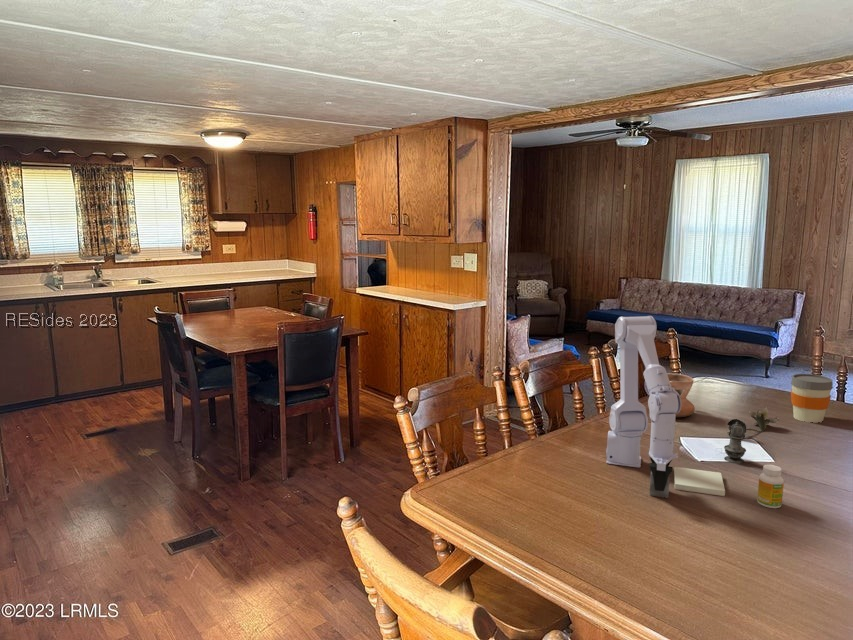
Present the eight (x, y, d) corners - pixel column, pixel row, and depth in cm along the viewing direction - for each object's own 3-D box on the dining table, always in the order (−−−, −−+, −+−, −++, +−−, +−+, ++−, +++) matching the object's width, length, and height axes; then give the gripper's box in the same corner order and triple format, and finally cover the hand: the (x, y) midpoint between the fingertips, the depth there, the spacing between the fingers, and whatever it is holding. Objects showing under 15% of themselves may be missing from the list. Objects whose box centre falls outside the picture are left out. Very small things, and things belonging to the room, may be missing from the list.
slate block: (649, 495, 157) (650, 473, 156) (649, 488, 161) (651, 467, 160) (668, 498, 155) (669, 476, 154) (668, 490, 159) (669, 469, 158)
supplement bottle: (772, 510, 148) (776, 473, 146) (752, 501, 153) (755, 465, 151) (786, 505, 150) (789, 469, 149) (765, 497, 155) (768, 461, 153)
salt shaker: (747, 464, 176) (751, 425, 174) (726, 463, 177) (729, 424, 175) (741, 456, 181) (744, 418, 179) (720, 455, 182) (723, 417, 180)
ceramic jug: (687, 424, 210) (690, 385, 208) (645, 416, 219) (648, 378, 216) (699, 412, 224) (702, 375, 222) (659, 404, 233) (662, 369, 231)
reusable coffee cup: (789, 411, 224) (793, 371, 221) (829, 417, 216) (834, 376, 214) (785, 420, 214) (789, 379, 211) (828, 427, 206) (832, 384, 204)
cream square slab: (674, 490, 160) (675, 483, 160) (673, 473, 171) (674, 466, 171) (724, 498, 156) (725, 490, 156) (720, 479, 167) (720, 472, 167)
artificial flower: (720, 438, 200) (717, 408, 202) (762, 435, 211) (759, 406, 212) (745, 439, 193) (742, 408, 194) (787, 436, 203) (784, 406, 204)
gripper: (680, 448, 147) (676, 500, 149) (678, 429, 161) (675, 477, 163) (649, 445, 150) (646, 496, 152) (650, 426, 163) (647, 473, 165)
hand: (659, 486), depth 158 cm, fingers closed on slate block, 4 cm apart
